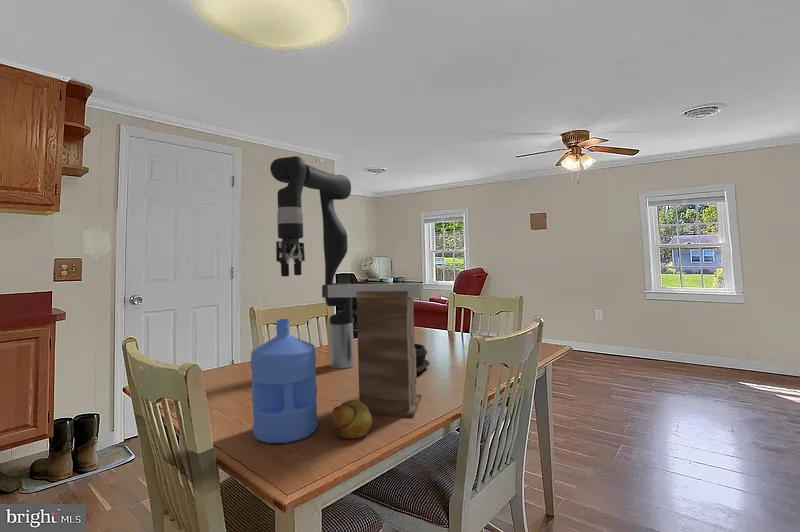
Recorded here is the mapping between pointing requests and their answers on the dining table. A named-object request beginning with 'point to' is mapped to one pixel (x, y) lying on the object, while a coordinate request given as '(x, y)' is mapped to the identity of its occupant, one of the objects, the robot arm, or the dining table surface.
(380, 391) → the stand
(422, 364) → the casserole
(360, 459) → the dining table surface
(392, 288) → the steel bar
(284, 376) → the water jug
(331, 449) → the dining table surface
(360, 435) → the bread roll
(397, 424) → the dining table surface
